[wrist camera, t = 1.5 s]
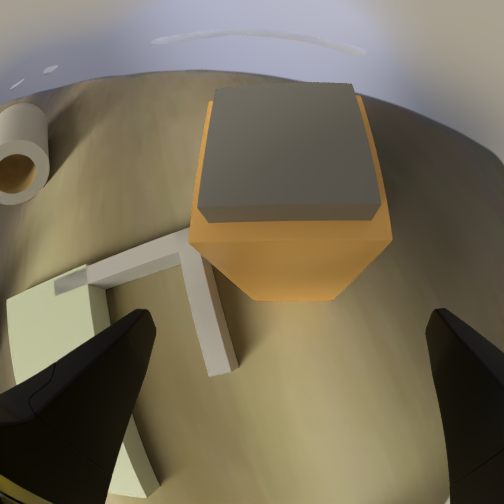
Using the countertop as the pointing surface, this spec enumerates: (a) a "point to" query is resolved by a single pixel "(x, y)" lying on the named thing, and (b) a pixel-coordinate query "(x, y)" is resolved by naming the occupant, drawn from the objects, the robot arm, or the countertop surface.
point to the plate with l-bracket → (97, 319)
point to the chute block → (289, 190)
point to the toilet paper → (23, 153)
